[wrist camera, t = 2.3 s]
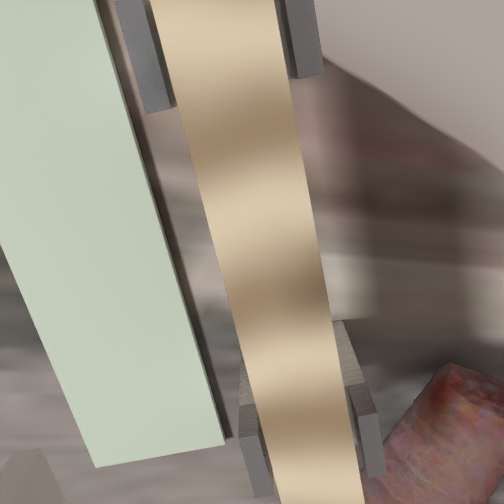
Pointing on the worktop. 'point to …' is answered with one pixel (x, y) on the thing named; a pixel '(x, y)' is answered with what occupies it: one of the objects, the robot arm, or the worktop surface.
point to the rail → (263, 235)
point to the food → (445, 444)
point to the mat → (94, 240)
